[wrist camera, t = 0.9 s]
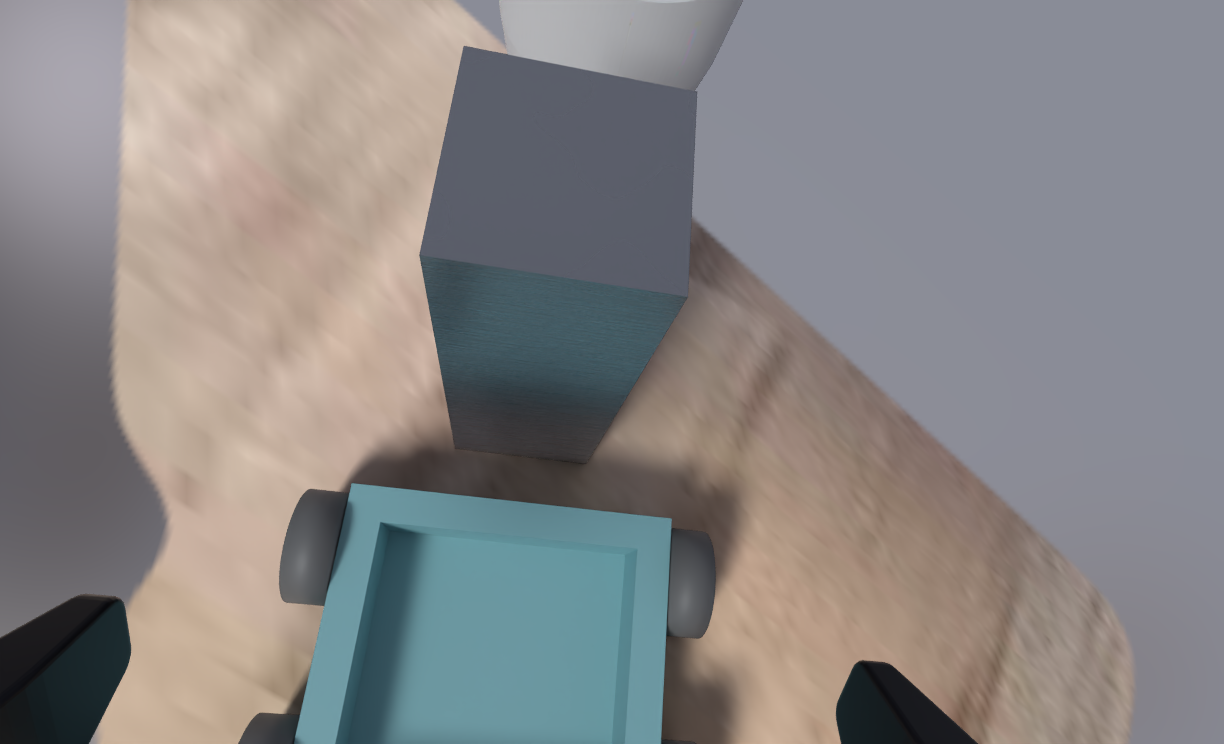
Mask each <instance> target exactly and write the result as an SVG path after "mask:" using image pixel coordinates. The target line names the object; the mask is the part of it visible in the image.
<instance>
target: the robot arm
mask: <svg viewBox="0 0 1224 744" xmlns="http://www.w3.org/2000/svg"><path fill="white" fill-rule="evenodd" d="M130 656H131V643H130V636H129V630H128V623H127V617H126V610H125V606H124V602H123V601H122V600H121V599H120V598H118V597H116V596H106V595H94V594H81V595H78V596H76V597H73V598H71V599H69V600H68V601H66V602H64V603H62V604H60V605H58V606H56V607H55V608H53V609H51V610H49V611H47V612H46V613H44V614H42V615H40V616H38V617H36V618H35V619H33V620H31V621H29V622H27V623H26V624H24V625H22V626H20V627H18V628H17V629H15V630H13V631H11V632H9V633H8V634H6V635H4V636H2V637H1V638H0V744H89V742H90V740H91V738H92V737H93V735H94V733H95V731H96V729H97V727H98V725H99V723H100V721H101V719H102V717H103V715H104V713H105V711H106V709H107V707H108V705H109V703H110V701H111V699H112V697H113V695H114V693H115V691H116V689H117V687H118V685H119V683H120V681H121V679H122V677H123V675H124V673H125V671H126V669H127V666H128V663H129V660H130ZM836 720H837V726H838V731H839V735H840V740H841V744H978V743H977V742H976V741H975V740H974V739H972V738H971V737H970V736H969V735H968V734H967V733H966V732H965V731H964V730H963V729H961V728H960V727H959V726H958V725H957V724H956V723H955V722H954V721H953V720H952V719H951V718H949V717H948V716H947V715H946V714H945V713H944V712H943V711H942V710H941V709H940V708H938V707H937V706H936V705H935V704H934V703H933V702H932V701H931V700H930V699H929V698H927V697H926V696H925V695H924V694H923V693H922V692H921V691H920V690H919V689H918V688H916V687H915V686H914V685H913V684H912V683H911V682H910V681H909V680H908V679H907V678H906V677H904V676H903V675H902V674H901V673H900V672H899V671H898V670H897V669H896V668H894V667H893V666H892V665H890V664H888V663H885V662H876V661H864V660H862V661H859V662H857V663H856V664H855V665H854V667H853V668H852V671H851V673H850V675H849V677H848V680H847V682H846V684H845V686H844V688H843V691H842V693H841V695H840V697H839V700H838V702H837V707H836Z"/></svg>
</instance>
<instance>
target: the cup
mask: <svg viewBox="0 0 1224 744" xmlns="http://www.w3.org/2000/svg"><path fill="white" fill-rule="evenodd" d="M742 2H743V0H499V3H500V13H501V19H502V25H503V31H504V37H505V42H506V48H507V54H508V55H513V56H518V57H523V58H528V59H533V60H538V61H543V62H548V63H554V64H559V65H564V66H569V67H574V68H579V69H584V70H589V71H594V72H599V73H604V74H610V75H615V76H620V77H625V78H630V79H635V80H640V81H645V82H650V83H655V84H660V85H666V86H671V87H676V88H681V89H686V90H691V91H695V90H696V88H697V87H698V85H699V83H700V82H701V80H702V79H703V77H704V76H705V74H706V73H707V71H708V69H709V68H710V67H711V65H712V63H713V61H714V59H715V57H716V55H717V53H718V51H719V49H720V47H721V45H722V43H723V41H724V39H725V37H726V35H727V33H728V31H729V28H730V26H731V24H732V22H733V20H734V18H735V16H736V14H737V12H738V10H739V8H740V6H741V4H742Z"/></svg>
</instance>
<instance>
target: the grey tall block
mask: <svg viewBox="0 0 1224 744" xmlns="http://www.w3.org/2000/svg"><path fill="white" fill-rule="evenodd" d="M696 105H697V92H696V91H691V90H686V89H681V88H676V87H671V86H666V85H660V84H655V83H650V82H645V81H640V80H635V79H630V78H625V77H620V76H615V75H610V74H604V73H599V72H594V71H589V70H584V69H579V68H574V67H569V66H564V65H559V64H554V63H548V62H543V61H538V60H533V59H528V58H523V57H518V56H513V55H508V54H503V53H498V52H492V51H487V50H482V49H477V48H472V47H467V46H464V47H463V52H462V57H461V61H460V66H459V71H458V76H457V80H456V85H455V90H454V94H453V99H452V104H451V109H450V113H449V118H448V123H447V127H446V132H445V137H444V142H443V146H442V151H441V156H440V160H439V165H438V170H437V175H436V179H435V184H434V189H433V193H432V198H431V203H430V208H429V212H428V217H427V222H426V227H425V231H424V236H423V241H422V245H421V250H420V261H421V266H422V272H423V277H424V282H425V288H426V293H427V299H428V304H429V310H430V315H431V321H432V326H433V331H434V337H435V342H436V348H437V353H438V359H439V364H440V369H441V375H442V380H443V386H444V391H445V397H446V402H447V408H448V413H449V418H450V424H451V429H452V435H453V440H454V446H455V448H456V449H464V450H473V451H481V452H489V453H498V454H506V455H514V456H523V457H531V458H540V459H548V460H556V461H565V462H573V463H581V464H586V463H587V461H588V460H589V458H590V456H591V455H592V453H593V451H594V450H595V448H596V447H597V445H598V443H599V442H600V440H601V438H602V437H603V435H604V433H605V432H606V430H607V428H608V427H609V425H610V424H611V422H612V420H613V419H614V417H615V415H616V414H617V412H618V410H619V409H620V407H621V406H622V404H623V402H624V401H625V399H626V397H627V396H628V394H629V392H630V391H631V389H632V388H633V386H634V384H635V383H636V381H637V379H638V378H639V376H640V374H641V373H642V371H643V370H644V368H645V366H646V365H647V363H648V361H649V360H650V358H651V356H652V355H653V353H654V351H655V350H656V348H657V347H658V345H659V343H660V342H661V340H662V338H663V337H664V335H665V333H666V332H667V330H668V329H669V327H670V325H671V324H672V322H673V320H674V319H675V317H676V315H677V314H678V312H679V311H680V309H681V307H682V306H683V304H684V302H685V301H686V299H687V297H688V284H689V262H690V240H691V217H692V195H693V194H692V193H693V172H694V150H695V149H694V148H695V128H696Z"/></svg>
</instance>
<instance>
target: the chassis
mask: <svg viewBox="0 0 1224 744" xmlns="http://www.w3.org/2000/svg"><path fill="white" fill-rule="evenodd" d="M671 522H672V519H671V518H662V517H653V516H644V515H635V514H626V513H616V512H607V511H598V510H589V509H580V508H571V507H562V506H553V505H544V504H535V503H526V502H517V501H508V500H499V499H490V498H481V497H472V496H463V495H454V494H445V493H436V492H427V491H418V490H409V489H400V488H391V487H382V486H373V485H364V484H355V483H352V484H351V489H350V493H344V492H335V491H326V490H316V489H309V490H307V491H306V492H305V493H304V494H303V495H302V497H301V498H300V500H299V502H298V504H297V506H296V508H295V510H294V512H293V515H292V517H291V520H290V523H289V526H288V529H287V533H286V537H285V541H284V545H283V550H282V556H281V562H280V573H279V588H280V594H281V598H282V600H283V601H284V602H286V603H297V604H309V605H320V606H324V610H323V615H322V619H321V624H320V628H319V633H318V637H317V642H316V646H315V651H314V655H313V660H312V664H311V669H310V673H309V678H308V682H307V687H306V691H305V695H304V700H303V704H302V709H301V713H300V715H289V714H274V713H259V714H257V715H256V716H255V717H254V718H253V719H252V720H251V722H250V723H249V725H248V726H247V728H246V730H245V731H244V733H243V735H242V737H241V739H240V741H239V743H238V744H696V743H695V742H692V741H677V740H662V739H661V730H662V709H663V688H664V667H665V647H666V636H674V637H686V638H697V639H698V638H701V637H702V636H703V635H704V634H705V632H706V630H707V628H708V625H709V622H710V619H711V615H712V610H713V604H714V597H715V582H716V571H715V557H714V551H713V546H712V542H711V540H710V537H709V536H708V534H707V533H706V532H702V531H693V530H684V529H675V528H671Z"/></svg>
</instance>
